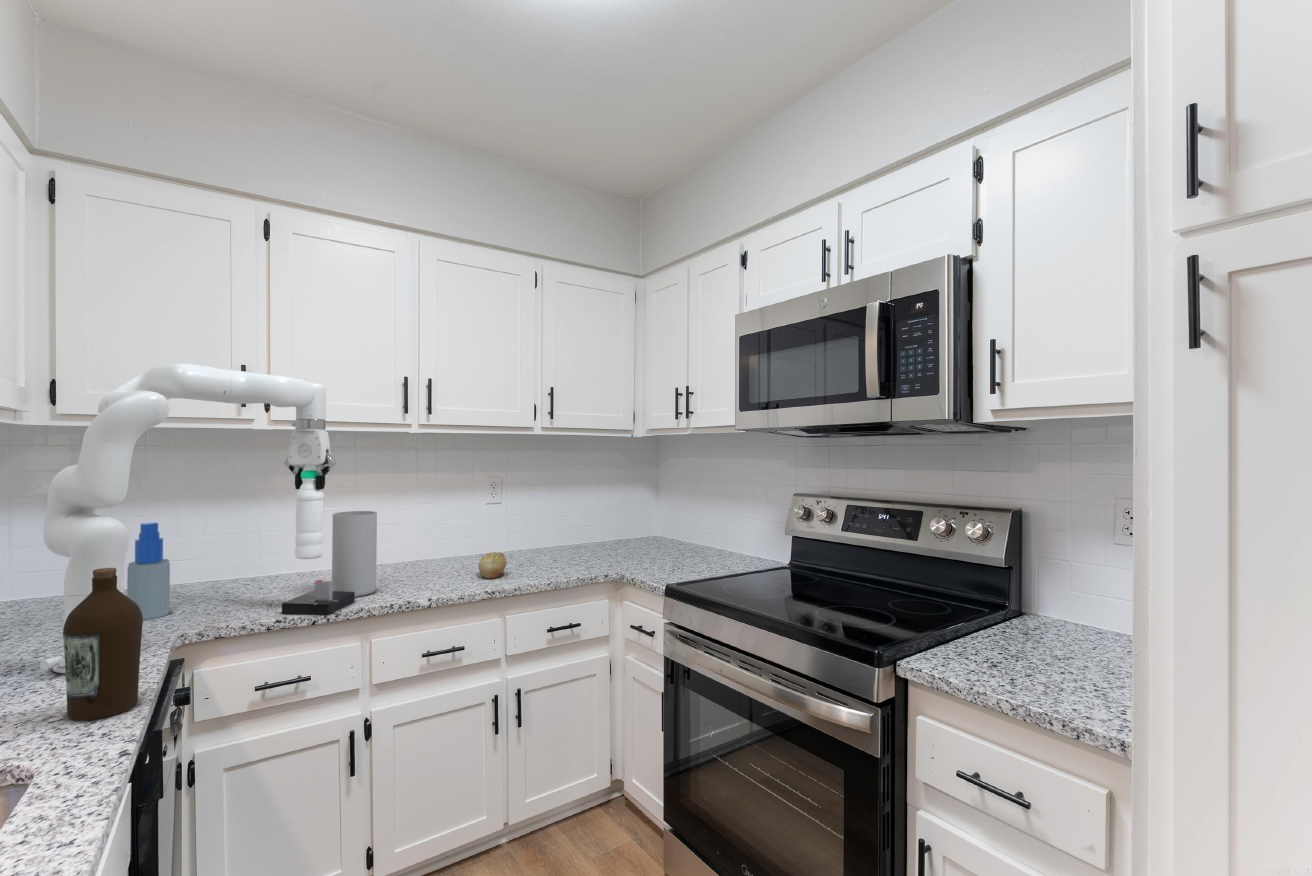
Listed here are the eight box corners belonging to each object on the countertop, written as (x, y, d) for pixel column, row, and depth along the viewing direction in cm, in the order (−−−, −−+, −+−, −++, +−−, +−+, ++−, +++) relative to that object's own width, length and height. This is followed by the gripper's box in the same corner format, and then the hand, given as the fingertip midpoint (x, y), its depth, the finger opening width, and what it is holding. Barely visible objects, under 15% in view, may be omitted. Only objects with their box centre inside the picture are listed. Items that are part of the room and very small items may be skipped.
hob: (329, 616, 170) (329, 604, 170) (278, 615, 170) (278, 603, 170) (358, 601, 185) (358, 591, 185) (311, 600, 186) (312, 590, 186)
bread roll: (507, 570, 231) (508, 548, 231) (505, 579, 216) (505, 556, 216) (480, 571, 229) (481, 549, 229) (476, 580, 214) (477, 556, 214)
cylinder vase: (383, 588, 201) (383, 511, 201) (364, 598, 189) (365, 515, 189) (344, 587, 202) (345, 510, 202) (323, 597, 189) (324, 515, 189)
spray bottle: (120, 621, 163) (121, 525, 163) (135, 612, 172) (136, 521, 172) (162, 618, 167) (163, 524, 167) (174, 609, 175) (175, 520, 175)
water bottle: (310, 560, 175) (312, 471, 175) (289, 558, 177) (290, 470, 177) (328, 555, 182) (329, 470, 182) (307, 554, 184) (308, 469, 184)
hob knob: (332, 600, 175) (332, 579, 175) (329, 601, 173) (329, 581, 173) (317, 599, 175) (318, 579, 175) (314, 601, 174) (314, 580, 174)
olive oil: (108, 695, 117) (109, 562, 117) (157, 699, 116) (158, 564, 116) (45, 720, 107) (46, 574, 107) (97, 725, 105) (98, 577, 105)
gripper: (273, 425, 176) (272, 489, 176) (332, 426, 175) (331, 490, 175) (290, 426, 184) (289, 487, 184) (346, 426, 183) (346, 488, 183)
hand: (309, 488), depth 179 cm, fingers closed on water bottle, 5 cm apart
